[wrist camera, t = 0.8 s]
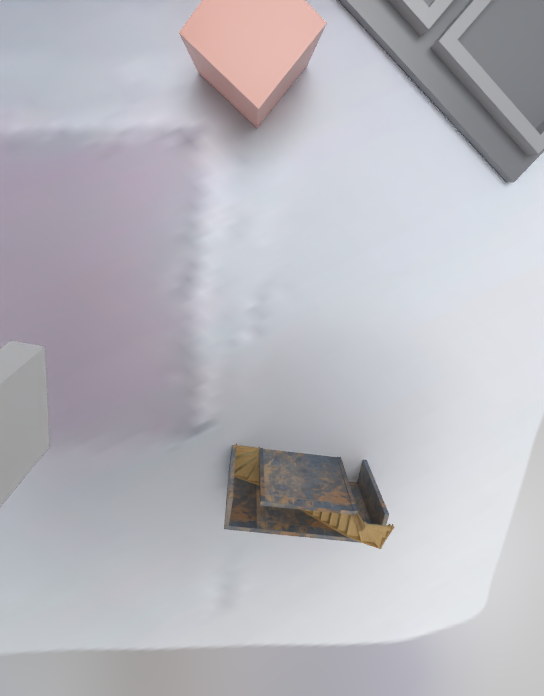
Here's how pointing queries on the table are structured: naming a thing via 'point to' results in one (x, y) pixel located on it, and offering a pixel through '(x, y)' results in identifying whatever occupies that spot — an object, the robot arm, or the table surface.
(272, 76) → the salmon pink square prism
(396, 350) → the table surface
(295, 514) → the dark grey upright slab
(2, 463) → the robot arm
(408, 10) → the grey compartment tray
